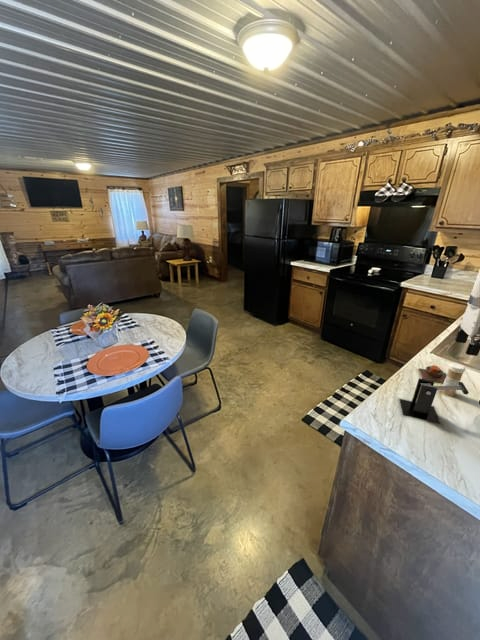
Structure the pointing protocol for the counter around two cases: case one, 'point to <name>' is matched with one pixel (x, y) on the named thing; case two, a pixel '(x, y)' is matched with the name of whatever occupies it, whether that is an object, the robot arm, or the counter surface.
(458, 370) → the sprinkles bottle
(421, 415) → the bracket
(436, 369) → the button
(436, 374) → the button block
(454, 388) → the lever
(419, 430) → the counter surface
